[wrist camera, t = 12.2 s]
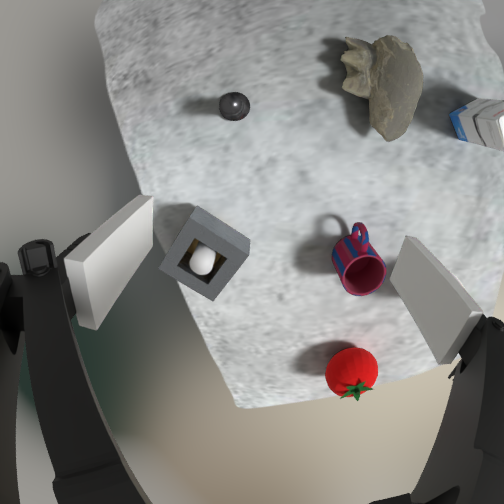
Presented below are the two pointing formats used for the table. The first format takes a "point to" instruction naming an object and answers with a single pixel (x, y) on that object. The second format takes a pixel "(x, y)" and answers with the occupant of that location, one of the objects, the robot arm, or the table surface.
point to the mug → (358, 263)
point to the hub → (202, 257)
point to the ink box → (481, 123)
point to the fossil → (384, 82)
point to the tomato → (351, 372)
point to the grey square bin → (217, 238)
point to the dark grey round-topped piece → (234, 106)
